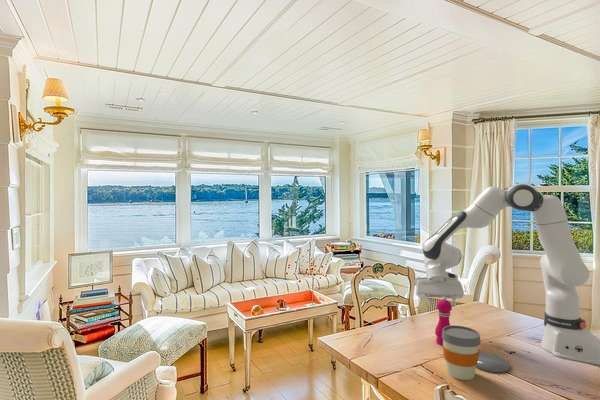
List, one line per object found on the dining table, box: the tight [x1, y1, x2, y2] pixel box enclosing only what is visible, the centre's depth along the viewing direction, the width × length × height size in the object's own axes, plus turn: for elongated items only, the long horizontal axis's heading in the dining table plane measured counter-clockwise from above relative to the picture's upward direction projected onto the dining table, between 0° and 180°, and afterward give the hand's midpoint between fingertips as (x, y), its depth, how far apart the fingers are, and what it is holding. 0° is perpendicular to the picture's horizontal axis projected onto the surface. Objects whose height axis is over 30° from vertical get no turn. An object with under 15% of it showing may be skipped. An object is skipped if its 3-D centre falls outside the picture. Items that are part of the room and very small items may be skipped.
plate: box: [476, 351, 511, 374], centre depth 133 cm, size 14×14×1 cm
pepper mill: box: [434, 297, 453, 347], centre depth 151 cm, size 7×7×20 cm
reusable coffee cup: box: [442, 324, 481, 381], centre depth 126 cm, size 12×13×15 cm
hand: (441, 305), depth 155 cm, fingers open, 8 cm apart
